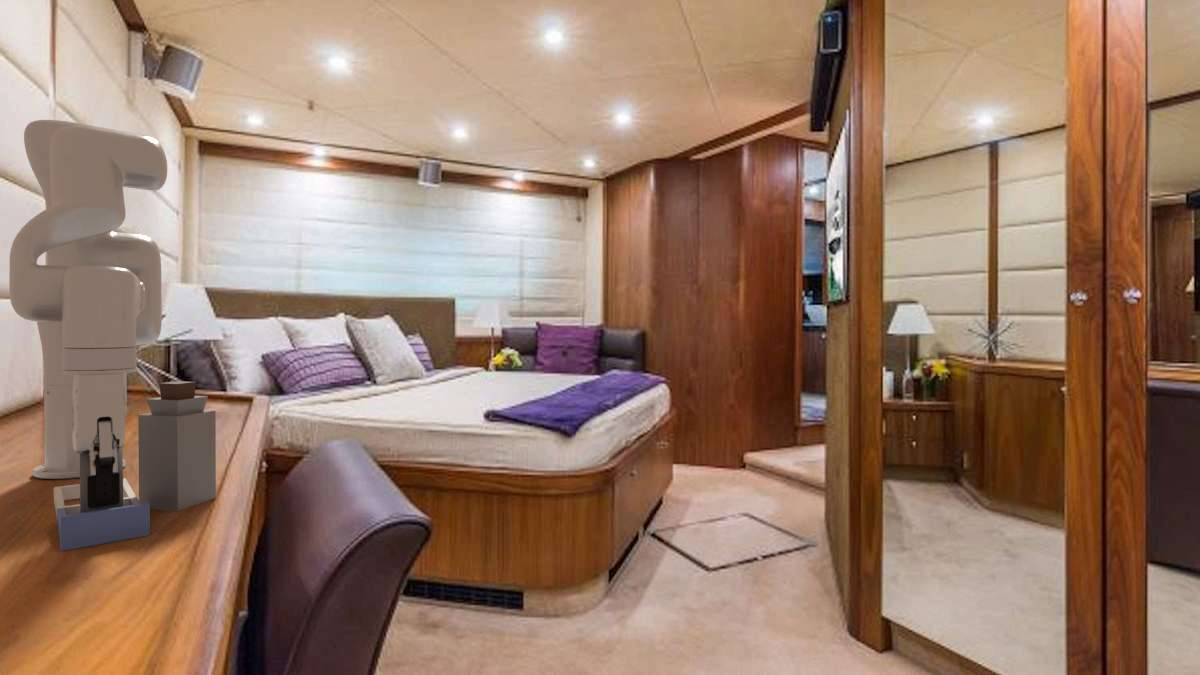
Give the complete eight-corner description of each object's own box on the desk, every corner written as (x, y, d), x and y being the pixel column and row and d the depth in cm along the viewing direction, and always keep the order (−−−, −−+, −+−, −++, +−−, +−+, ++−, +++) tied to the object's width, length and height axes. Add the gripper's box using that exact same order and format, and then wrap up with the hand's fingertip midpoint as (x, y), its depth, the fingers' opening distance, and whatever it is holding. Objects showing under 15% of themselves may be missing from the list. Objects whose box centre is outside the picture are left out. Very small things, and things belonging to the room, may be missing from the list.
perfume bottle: (177, 510, 90) (177, 385, 90) (139, 507, 92) (138, 383, 91) (215, 497, 97) (215, 381, 96) (179, 494, 98) (178, 379, 98)
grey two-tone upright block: (79, 511, 82) (78, 450, 82) (121, 504, 85) (120, 446, 85) (81, 519, 79) (80, 455, 79) (125, 512, 82) (124, 451, 82)
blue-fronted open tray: (53, 500, 94) (53, 474, 94) (125, 490, 100) (125, 465, 100) (61, 551, 74) (60, 517, 74) (149, 535, 80) (149, 504, 80)
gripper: (60, 359, 85) (61, 493, 86) (65, 366, 73) (67, 523, 73) (128, 357, 90) (129, 484, 91) (145, 364, 78) (146, 510, 78)
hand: (102, 500), depth 82 cm, fingers closed on grey two-tone upright block, 4 cm apart
